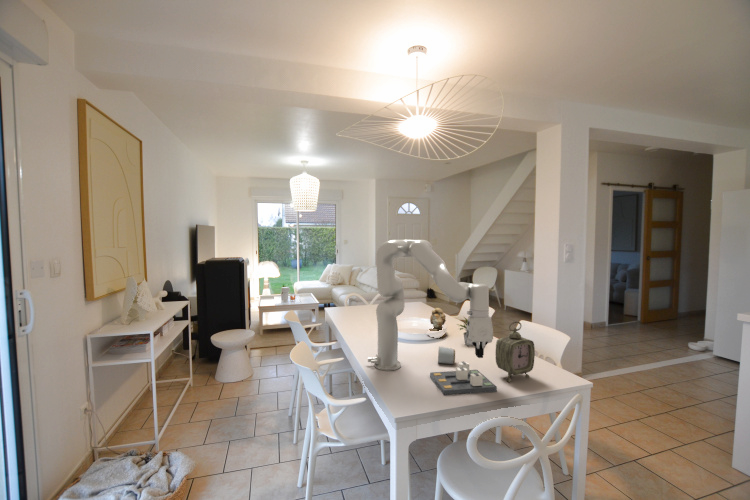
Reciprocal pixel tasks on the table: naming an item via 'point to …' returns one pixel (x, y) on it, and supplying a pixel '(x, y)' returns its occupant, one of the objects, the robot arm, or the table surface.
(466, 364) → the far toggle
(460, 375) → the block
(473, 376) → the near toggle
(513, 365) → the tabletop clock
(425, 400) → the table surface
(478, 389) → the board
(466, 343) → the house plant
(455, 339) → the table surface
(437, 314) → the owl figurine
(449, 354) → the ceramic mug
